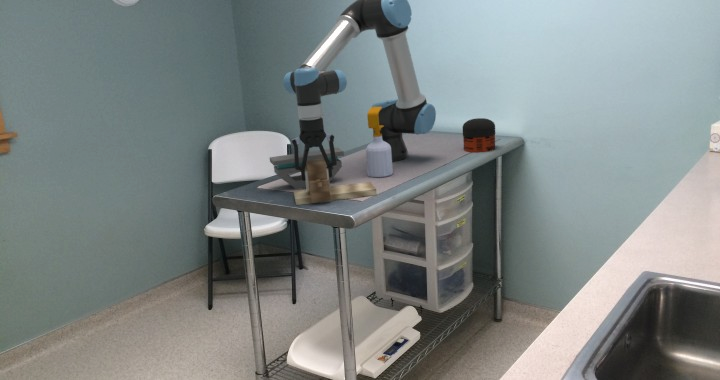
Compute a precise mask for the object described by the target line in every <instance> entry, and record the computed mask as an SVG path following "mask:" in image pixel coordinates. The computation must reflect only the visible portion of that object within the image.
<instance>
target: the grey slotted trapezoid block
mask: <svg viewBox="0 0 720 380" xmlns="http://www.w3.org/2000/svg"><path fill="white" fill-rule="evenodd" d="M324 150H325V152H326V155H327V157H328V159H329V162H332V159H331V153H330V148H324ZM334 150H335V156H336V162H337V164H336V165H334V166H332V168H331V169H332V177H330V178H329V183H330V182H331V181H332V180H333V178H334V177H335V176H336V175H337V174H338V172H339V171H340V170H341V169H342V167H343V166H342V165H343V163H342V162H343V161H342V160H341V159H339V158H338V157H342V156H345V153H344V150H342V149H341V148H339V147H334ZM303 153H304V152H298V157H299V166H301V163H302V158H303ZM321 158H323V155H322V153H321V151H320V149H319V150H317V149H316V150H312V151H311V150H310V151H309V152H308V157H307V160H312V159H321ZM269 162H270V164H272V165H273V170H274V172H273V173H275V174H276V176H277V177H279V178H280V179H281V180H283V181H285V183H287V184H289V185H290V186H291V187H293V188H294V189H296V190H299V189H304V188H306V182H305V181H303V180H302V177H301V174H300V175H299V174H298V175H292V176H291V175H290V174H294V173H301V171H300V170H296V169H295V163H294V153H292V154H285V155H284V154H283V155H277V156H270V157H269ZM326 167H327V165H326ZM305 169H306V166H305Z"/></svg>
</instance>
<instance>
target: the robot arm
mask: <svg viewBox="0 0 720 380" xmlns="http://www.w3.org/2000/svg"><path fill="white" fill-rule="evenodd" d="M411 21H412V9H411V5H410V3H409V1H408V0H355V1H354V2H352V3H351V4H350V5H349V6H347V7H346V8H345V9H344V10H343V11H342V12H341V14H340V15H339V16H338V17H337V19H336V20H335V25H334V26H333V27H332V28H331V30H330V31H329V32H328V33H327V34H326V35H325V37H324V38H323V39H322V40H321V41H320V42H319V44H318V45H317V46H316V48H314V49H313V51H312V52H311V53H310V54H309V56H308V57H307V58H306V59H305V60H304V62H302V64H300V66H299V67H298V68H297V69H296V70H295V71H294V70H293V71H288V72H287V73H285V75H284V77H283V81H282V82H283V88H284V90H285V91H286V92H287V93H288V94H292V95H295V97H296V105H297V114H298V115H297V116H298V118H299V120H298V123H299V132H300V133H299V136H298V137H296V138H295V137H293V138H291V143H292V145H293V154H294V163H295V169H296V170H300V171H301V172H300V175H301V177H302V180H303V181H305V182H306V189H305V190H307V191H309V183H308V174H307V169H305V166H306V161H307V157H308V152H310V149H311V148H318V149H319V150H320V151H321V153H322V155H323V158H324V160H325V162H326V165H327V167H326V171H327V179H328V180H329V178H330V177H332V169H331V168H332V166H334V165H336V164H337V162H336V156H335V150H334V148H335V145H334V141H335V135H334V134H333V133H331V134H329V133H326V132H325V127H324V119H323V108H322V97H325V96H329V95H334V94H335V95H337V94H339V93H342V92H343V91H344V90H345V89H346V88H347V84H348V80H347V76H346V74H345V73H344V72H343V71H342V70H340V69H331V70H328V69H329V68H330V66H331V65H332V64H333V62H334V61H335V60H336V59H337V57H339V55H340V54H341V53H342V51H343V50H344V49H345V47H347V45H348V44H349V43H350V42H351V41H352V39H355V38H357V37H358V36H359V35H360V34H361V33H363V32H365V31H369V30H374V31H375V35H376V37H377V38H378V39H379V40H381V41H382V44H383V48H384V51H385V54H386V58H387V61H388V62H387V63H388V66H389V70H390V74H391V77H392V81H393V85H394V88H395V91H396V96H397V98H394V99H388V100H383V101H382V100H381V101H378V102H375V103H373V104H372V105H371V107H382V109H381V110H380V112H379V114H378V117H379V125H384V127H382V128H381V130H379V131H380V134H382V140H383V141H385V142H387V143H388V144H389V145H390V146H391V154H392V162H396V161H402V160H405V159H407V158H409V151H408V150H409V149H408V147H407V145H406V143H405V141H404V138H403V134H409V135H410V134H411V135H412V134H413V135H427V134H428V133H430V132H431V130H432V129H433V127H434V125H435V123H436V115H437V111H436V107H435V106H434V105H433V104H432V103H428V101H427V98H426V95H424V94H422V93H421V91H420V87H419V82H418V79H417V75H416V71H415V67H414V62H413V58H412V54H411V51H410V47H409V42H408V38H407V35H406V33H407V32H408V29H409V25H410V23H411ZM373 134H375V131H373V130H372V135H373ZM325 139H326V140H327V142H328V146H329V149H330V153H331V159H332V162H329V159H328V157H327V155H326V152H325V150H324V149H325V148H324V146H323V142H324V141H325ZM300 141H301V142H302V143H303V144H304V147H303V149H304V150H303V152H302V153H303V158H302V163H301V166H299V157H298V153H299V146H298V145H299V144H300ZM330 184H331V183H330V182H329V188H330V187H331V185H330Z"/></svg>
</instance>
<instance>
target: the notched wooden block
mask: <svg viewBox="0 0 720 380" xmlns="http://www.w3.org/2000/svg"><path fill="white" fill-rule="evenodd" d="M306 169H307V174H308V183H309V193H310V195H311V202H312V203H311V204H315V203H324V202H332V201H331V198H330V188H329V183H330V182H329V180H328V179H327V171H326V162H325V160H324V158H321V159H312V160H307V161H306Z"/></svg>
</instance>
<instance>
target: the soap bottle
mask: <svg viewBox="0 0 720 380" xmlns="http://www.w3.org/2000/svg"><path fill="white" fill-rule="evenodd" d="M381 109H382V107H372V106H371V107H370V109H369V110H368V111H367V115H366V116H367V125H368V126H367V127H368V129H372V132H373V131H375V134H373V133H372V141H371V142H370V143H369V144H367V146H366V148H365V154H366V157H365V158H366V167H367V175H368V177H370V178H386V177H390V176H392V175H393V161H392V154H391V146H390V145H389V144H388V143H387V142H385V141H383V140H382V134H380V131H379V130H381V128H382V127H384V125H379V117H378V114H379V112H380V110H381Z"/></svg>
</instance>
